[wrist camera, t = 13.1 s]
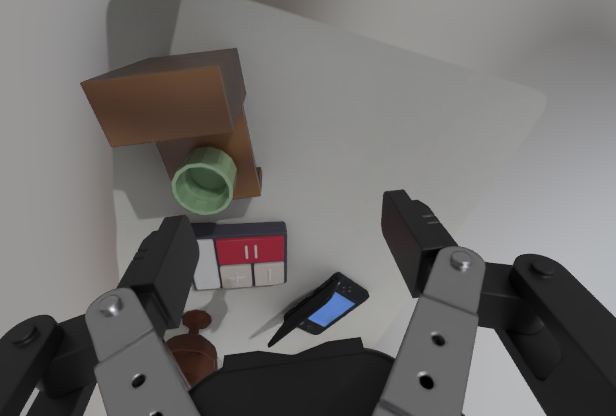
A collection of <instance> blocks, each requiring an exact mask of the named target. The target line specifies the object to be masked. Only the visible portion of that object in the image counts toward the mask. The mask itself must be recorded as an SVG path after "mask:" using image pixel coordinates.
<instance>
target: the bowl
mask: <svg viewBox="0 0 616 416" xmlns="http://www.w3.org/2000/svg"><path fill="white" fill-rule="evenodd" d="M236 180H237V168H236V166H235V164H234V162H233V160H232V158H231V157H230V156H228V155H227V154H226V153H224V152H223V151H222V150H219V149H216V148H212V147H202V148H196V149H194V150H193V151H191V152H190V153H188V154H187V155H186V157H185V158H184V160H183V162H182V163H181V165H180V167H179V168H178V170H177V171H176V173H175V175H174V178H173V180H172V182H171V185H172V192H173V195H174V197H175V198H176V200H177V201H178V203H179V204H180V205H181V206H183V207H184V208H186V209H187V210H189V211H190V212H193V213H197V214H202V215H209V214H217V213H219V212H220V211H222V210H224V209H225V208H227V207H228V205H229V203H230V202H231V200H232V198H233V194H234V189H235V185H236Z"/></svg>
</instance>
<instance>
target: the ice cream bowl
mask: <svg viewBox="0 0 616 416" xmlns="http://www.w3.org/2000/svg"><path fill="white" fill-rule="evenodd" d="M182 320H183V325H185V326H186V327H188V328H189V333H188V334H183V335H178V336H175V337H173V338H171V339H169V340H168V341H167V342H166V344H167V346H168V347H169V349H170V351H171V353H172V355H173V356H174V358H175V360H176V362H177V364H178V365H179V367H180V369H181V371H182V372H183V374H184V376H185V378H186V380H187V381H188V383H189V385H190V386H191V388H192V387H193V386H194V385H195V384H196V383H198V382H199V381H200V380H201V379H202V378H204V377H205V376H207V375H208V374H210V373H212V372H214V371H215V370H217V369H218V362H217V352H216V349H215V346H214V345H213V344H212V343H211V342H210V341H208V340H207V339H205V338H204V337H203V336H201V335H198V332H199V330H200V329H204V328H206V327H207V326H208V325H209V324H210V323H211V316H210V315H209V314H207V313H206V312H205V311H200V310H192V311H187V312H186V313H185V314H184V315H183V316H182Z"/></svg>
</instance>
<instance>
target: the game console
mask: <svg viewBox="0 0 616 416" xmlns="http://www.w3.org/2000/svg"><path fill="white" fill-rule="evenodd" d="M368 298H369V294H368V291H367V290H365V289H364V288H362V287H361V286H359V285H358V284H356V283H354V282H353V281H352V280H350V279H349V278H347V277H346V276H344V275H343V274H341V273H340V272H337V273H336V274H334V275H333V276H332V277H331V278H330V279H329V280H328V281H326V282H325V283H324V284H323V285H322V286H320V287H319V288H318V289H317V290H316V291H315V292H314V294H313V295H312V296H310V297H308V298H306V299H305V300H303V301H302V302H300V303H299V304H298V305H297V306H295V307H294V308H293V309H292V310H291V311H289V312H287V313H286V314H285V315H284V323H283V324H282V326H281V327H280V328H279V330H278V331H277V332H276V334H275V335H274V336H273V338H272V339H271V340H270V342H269V343H268V347H269V348H270V347H271V346H273V345H274V344H275V343H277V342H278V341H279V340H281V339H282V338H283V337H284V336H286V335H287V334H288V333H290V332H291V331H292V330H293V329H295V328H296V327H299V328H301V329H303V330H305V331H307V332H309V333H311V334H313V335H318V334H321V333H322V332H323V331H325V330H326V329H327V328H329V327H330V326H332V325H333V324H334V323H336V322H337V321H338V320H340V319H341V318H342V317H344V316H345V315H347V314H348V313H349V312H351V311H352V310H353V309H355V308H356V307H358V306H359V305H360V304H362V303H363V302H364V301H366V300H367V299H368Z"/></svg>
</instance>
